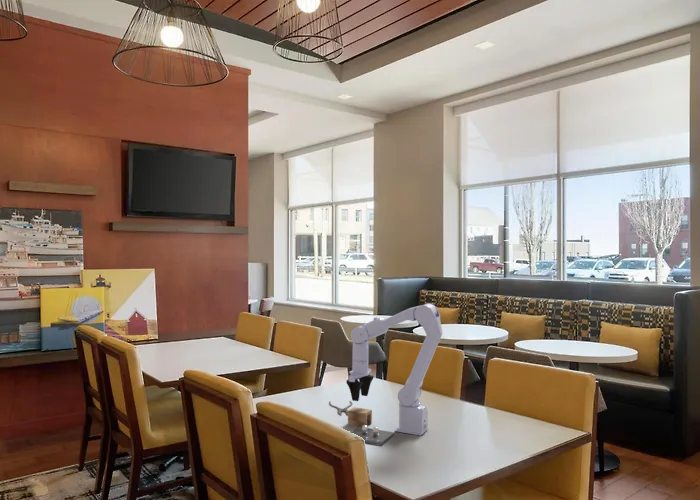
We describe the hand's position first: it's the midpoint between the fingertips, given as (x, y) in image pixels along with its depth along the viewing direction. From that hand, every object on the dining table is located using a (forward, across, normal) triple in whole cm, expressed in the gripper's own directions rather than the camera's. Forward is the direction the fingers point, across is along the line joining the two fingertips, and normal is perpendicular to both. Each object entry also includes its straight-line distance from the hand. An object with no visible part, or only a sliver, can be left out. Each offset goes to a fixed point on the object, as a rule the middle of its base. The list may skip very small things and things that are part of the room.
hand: (360, 398), depth 191 cm
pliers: (+10, -16, -14) cm, 23 cm away
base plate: (+9, +11, +9) cm, 17 cm away
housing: (+9, 0, 0) cm, 9 cm away
